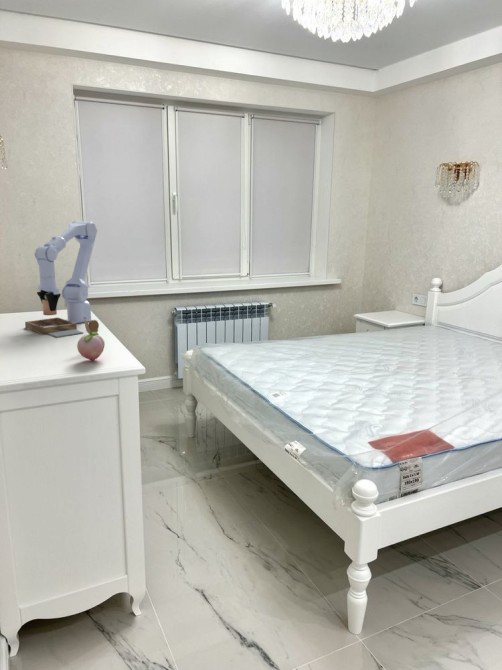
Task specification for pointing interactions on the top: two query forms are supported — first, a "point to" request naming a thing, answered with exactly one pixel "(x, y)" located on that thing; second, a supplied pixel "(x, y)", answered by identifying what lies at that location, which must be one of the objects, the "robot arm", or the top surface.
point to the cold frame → (62, 323)
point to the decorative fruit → (91, 346)
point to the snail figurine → (91, 326)
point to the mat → (65, 333)
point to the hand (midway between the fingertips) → (49, 309)
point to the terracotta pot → (47, 307)
